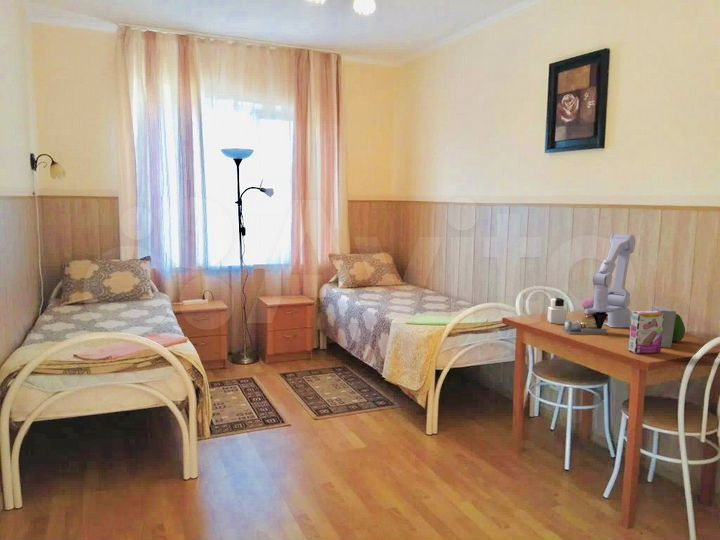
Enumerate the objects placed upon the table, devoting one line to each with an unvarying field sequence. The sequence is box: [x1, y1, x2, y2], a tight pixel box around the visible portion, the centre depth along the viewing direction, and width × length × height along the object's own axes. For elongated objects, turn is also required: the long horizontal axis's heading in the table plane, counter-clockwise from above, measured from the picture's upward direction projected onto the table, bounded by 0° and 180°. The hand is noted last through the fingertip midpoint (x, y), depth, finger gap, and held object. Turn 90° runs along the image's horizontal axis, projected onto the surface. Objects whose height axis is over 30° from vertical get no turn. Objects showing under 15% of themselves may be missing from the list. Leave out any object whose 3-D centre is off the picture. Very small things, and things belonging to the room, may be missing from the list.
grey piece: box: [561, 318, 608, 335], centre depth 250 cm, size 17×10×5 cm, turn 90°
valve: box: [580, 315, 597, 329], centre depth 250 cm, size 7×4×7 cm, turn 89°
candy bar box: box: [628, 310, 664, 355], centre depth 216 cm, size 11×5×16 cm, turn 99°
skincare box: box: [650, 305, 677, 348], centre depth 227 cm, size 8×7×16 cm
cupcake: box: [581, 297, 594, 318], centre depth 281 cm, size 9×9×10 cm
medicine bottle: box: [546, 297, 567, 325], centre depth 268 cm, size 7×7×12 cm
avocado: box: [672, 313, 686, 343], centre depth 233 cm, size 8×8×12 cm
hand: (598, 328), depth 250 cm, fingers closed
